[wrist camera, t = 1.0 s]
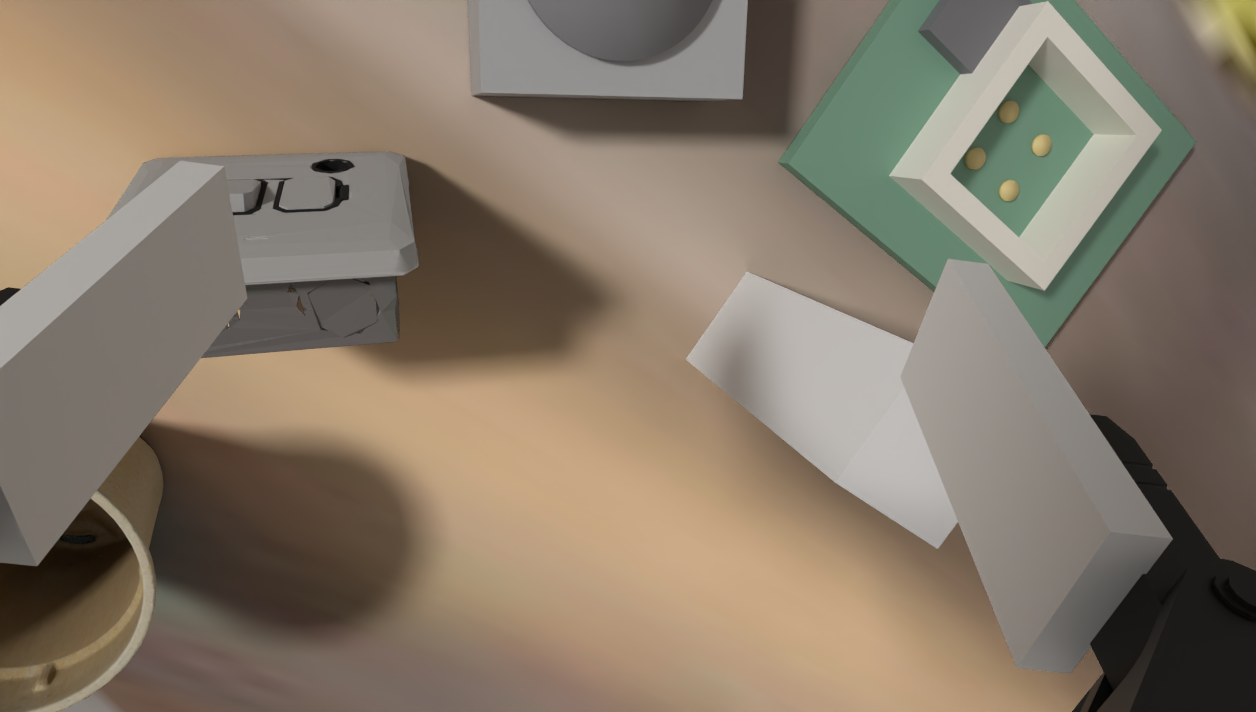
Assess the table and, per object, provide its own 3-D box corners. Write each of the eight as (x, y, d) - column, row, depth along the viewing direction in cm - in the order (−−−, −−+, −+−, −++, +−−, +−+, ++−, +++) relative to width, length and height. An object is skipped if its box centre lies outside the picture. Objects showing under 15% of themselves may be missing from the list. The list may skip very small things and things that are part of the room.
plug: (685, 359, 38) (835, 482, 25) (754, 260, 38) (942, 334, 25) (761, 410, 40) (937, 549, 27) (828, 316, 40) (1038, 412, 27)
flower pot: (150, 334, 32) (68, 406, 24) (246, 535, 35) (203, 659, 27) (-114, 413, 30) (-296, 519, 22) (13, 616, 33) (-107, 774, 25)
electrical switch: (406, 149, 33) (413, 192, 24) (417, 274, 34) (427, 353, 26) (146, 156, 30) (53, 205, 22) (173, 289, 32) (98, 381, 24)
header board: (778, 162, 37) (815, 166, 34) (963, -105, 36) (1019, -128, 32) (1017, 361, 44) (1067, 380, 40) (1179, 141, 42) (1243, 143, 39)
